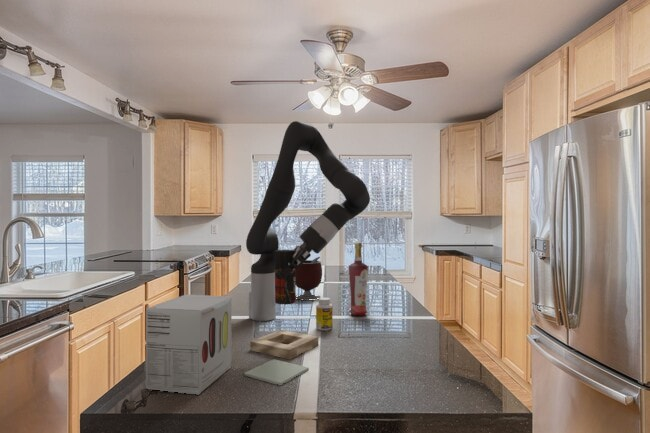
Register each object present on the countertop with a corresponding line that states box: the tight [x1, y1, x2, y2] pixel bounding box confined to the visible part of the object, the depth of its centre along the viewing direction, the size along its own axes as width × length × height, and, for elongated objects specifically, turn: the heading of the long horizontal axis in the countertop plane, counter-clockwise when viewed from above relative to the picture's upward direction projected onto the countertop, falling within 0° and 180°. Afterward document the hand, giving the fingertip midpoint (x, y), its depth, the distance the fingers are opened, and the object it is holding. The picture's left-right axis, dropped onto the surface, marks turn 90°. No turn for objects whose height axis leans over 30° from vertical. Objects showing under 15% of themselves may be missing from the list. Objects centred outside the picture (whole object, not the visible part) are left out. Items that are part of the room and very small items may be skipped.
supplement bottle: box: [315, 297, 333, 331], centre depth 137 cm, size 6×6×10 cm
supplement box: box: [145, 294, 233, 396], centre depth 95 cm, size 17×13×18 cm
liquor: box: [348, 242, 369, 318], centre depth 156 cm, size 7×7×28 cm
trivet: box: [243, 358, 309, 386], centre depth 98 cm, size 11×11×1 cm
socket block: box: [249, 329, 319, 360], centre depth 117 cm, size 14×14×2 cm
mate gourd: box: [296, 256, 323, 300], centre depth 189 cm, size 16×14×20 cm
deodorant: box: [275, 249, 297, 305], centre depth 117 cm, size 6×6×15 cm
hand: (279, 275), depth 116 cm, fingers closed on deodorant, 6 cm apart
